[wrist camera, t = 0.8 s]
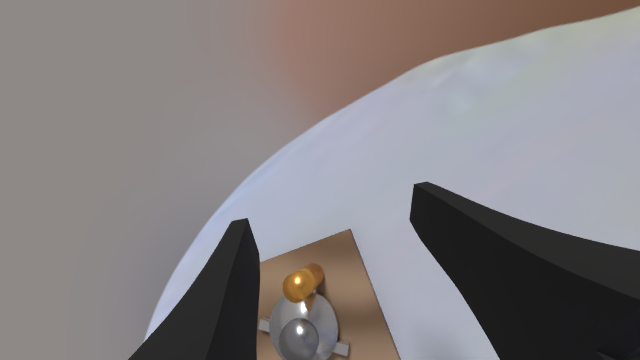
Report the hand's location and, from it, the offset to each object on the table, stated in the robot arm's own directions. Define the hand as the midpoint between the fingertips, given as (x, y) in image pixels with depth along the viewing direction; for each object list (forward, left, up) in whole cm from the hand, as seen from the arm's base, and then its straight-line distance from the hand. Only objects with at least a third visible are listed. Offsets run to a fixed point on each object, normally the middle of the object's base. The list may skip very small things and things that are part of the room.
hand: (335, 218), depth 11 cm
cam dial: (-7, +8, -12) cm, 16 cm away
